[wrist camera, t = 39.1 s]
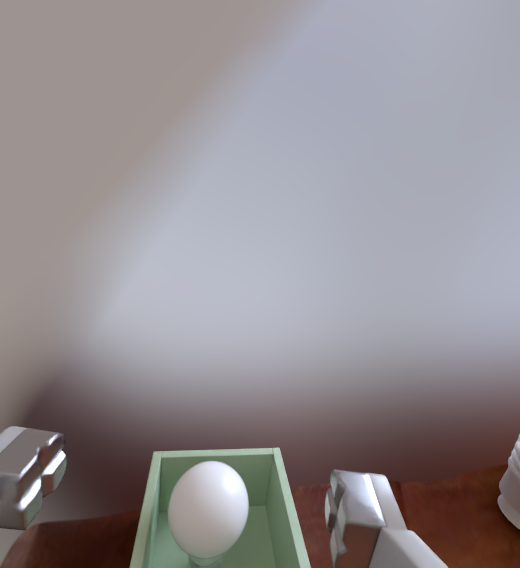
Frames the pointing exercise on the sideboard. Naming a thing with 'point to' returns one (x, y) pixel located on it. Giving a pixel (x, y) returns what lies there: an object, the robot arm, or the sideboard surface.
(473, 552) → the sideboard surface
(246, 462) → the bin
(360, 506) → the robot arm
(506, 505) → the white ribbed cylinder
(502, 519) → the sideboard surface
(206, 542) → the lightbulb
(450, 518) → the sideboard surface
